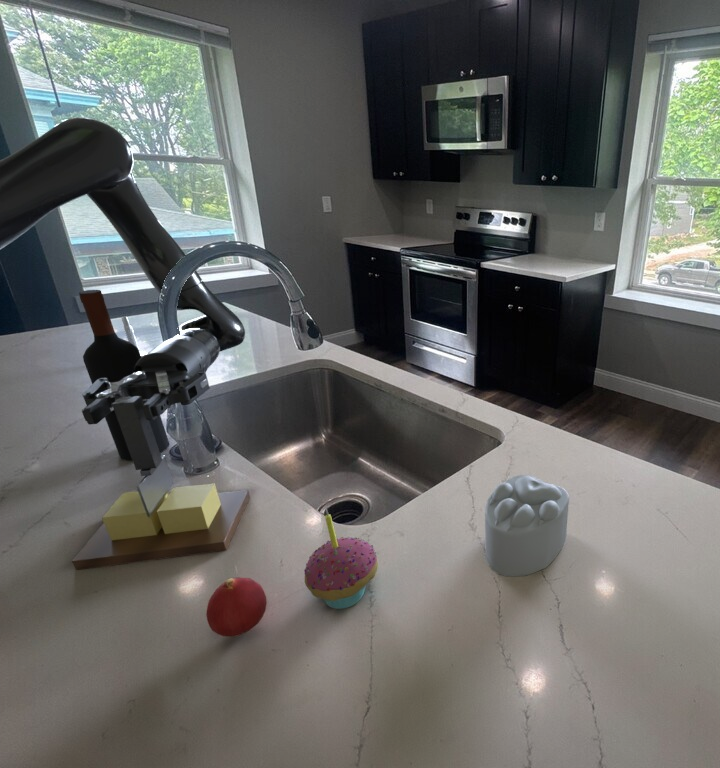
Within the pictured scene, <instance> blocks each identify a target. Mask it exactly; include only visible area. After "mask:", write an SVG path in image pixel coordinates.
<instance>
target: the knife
mask: <svg viewBox="0 0 720 768" xmlns="http://www.w3.org/2000/svg"><path fill="white" fill-rule="evenodd" d="M143 405H144V404H143V401H142V398H141V396H134V397H120V398H119V399H118V400H116V401H115V402H114V403H113V404H112V406H113V408H114V411H115V414H116V416H117V419H118V422H119V425H120V427H121V430H122V433H123V436H124V438H125V441H126V444H127V447H128V449H129V452H130V455H131V458H132V460H133V461H132V463H133V466H134V468H135V471H139V473H140V476H141V477H143V478H142V479H141V481H140V482H138V484H137V485H136V491H138V492H139V495H140V498H141V500H142V503H143V506H144V508H145V511H146V514H147V516H148V517H150V516H151V515H152V513H153V512H154V511H155V509H156V508H157V506H158V505H159V504H160V502H161V501H162V499H163V498H164V497H165V495H166V494H167V493H169V491H170V490H171V488H172V487H173V485H174V484H175V483H174V479H173V477H172V474H171V471H170V468H169V464H168V461H167V458H166V456H165V455H163V454H162V455H161V453H160V452H159V449H158V446H157V443H156V440H155V437H154V434H153V431H152V428H151V425H150V422H149V420H147V419H146V417H145V414H144V411H143Z"/></svg>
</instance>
